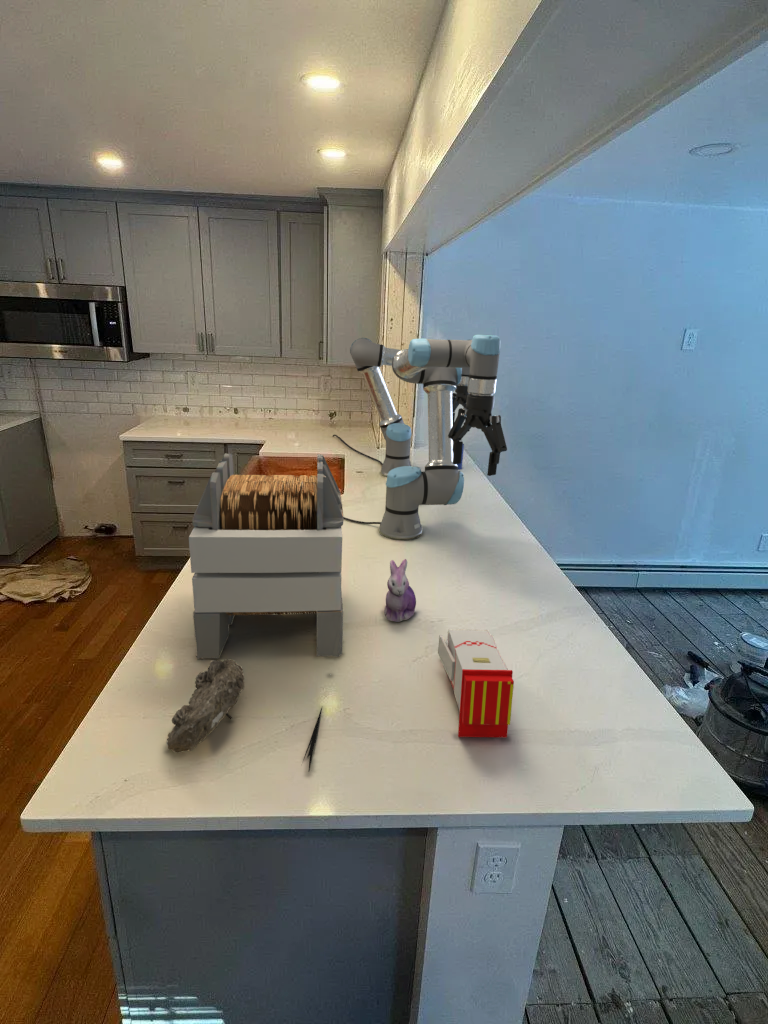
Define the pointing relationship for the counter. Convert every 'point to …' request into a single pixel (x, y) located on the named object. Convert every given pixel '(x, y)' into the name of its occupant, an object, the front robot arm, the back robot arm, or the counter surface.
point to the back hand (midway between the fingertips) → (458, 428)
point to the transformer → (267, 553)
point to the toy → (478, 682)
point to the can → (461, 459)
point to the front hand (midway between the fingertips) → (473, 469)
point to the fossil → (206, 705)
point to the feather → (313, 740)
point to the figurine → (399, 594)
